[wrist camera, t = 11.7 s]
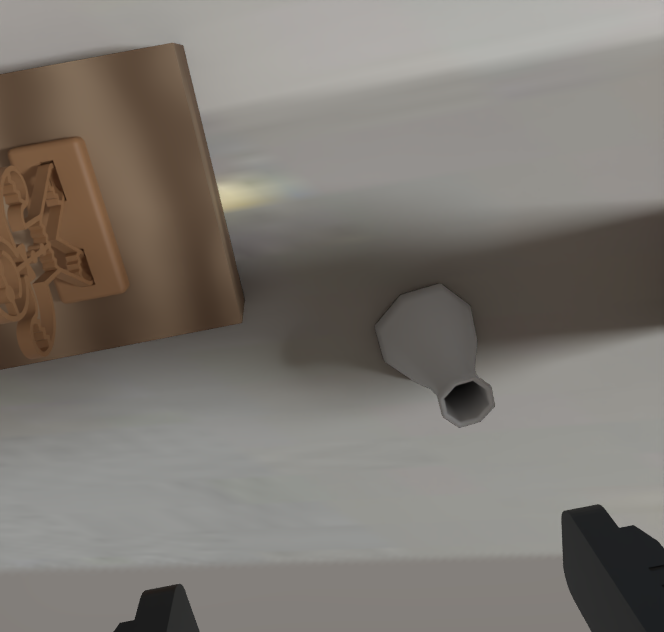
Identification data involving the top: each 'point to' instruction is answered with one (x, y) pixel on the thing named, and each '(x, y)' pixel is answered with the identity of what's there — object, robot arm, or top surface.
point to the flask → (437, 351)
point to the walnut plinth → (131, 196)
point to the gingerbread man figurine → (53, 238)
